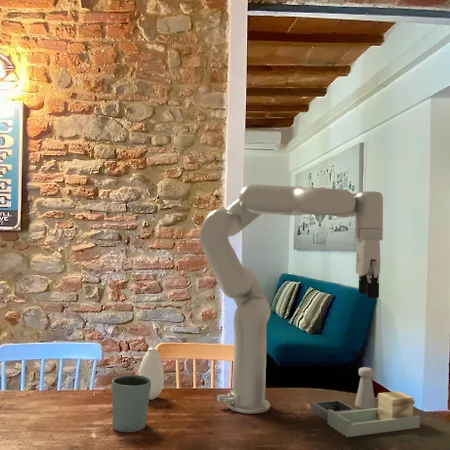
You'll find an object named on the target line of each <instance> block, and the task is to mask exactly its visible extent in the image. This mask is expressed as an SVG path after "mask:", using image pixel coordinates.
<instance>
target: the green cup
mask: <svg viewBox="0 0 450 450" xmlns="http://www.w3.org/2000/svg"><path fill="white" fill-rule="evenodd" d="M111 386H112V387H111V389H112V390H111V392H112V393H111V394H112V396H111V397H112V398H111V399H112V401H111V403H112V405H111V407H112V428H113V429H114V430H116V431H118V432H122V433H133V432H137V431H141V430H143V429H145V428H146V425H147V417H148V411H149V410H148V409H149V401H150V400H149V393H150V387H151V379H150V378H148V377H144V376H139V375H138V374H137V375H136V374H134V375H133V374H127V375H126V374H125V375H119V376H115V377H114V378H112V380H111Z"/></svg>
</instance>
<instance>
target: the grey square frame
mask: <svg viewBox="0 0 450 450" xmlns="http://www.w3.org/2000/svg"><path fill="white" fill-rule="evenodd" d="M330 409H331V410H333V411H335V412H345V411H354V410H357V409H356V407H355V408H354V407H353V406H351V405H350V404H347V403H346V402H345V401H342V400H340V399H332V400H322V401H313V402H310V412H311V413H313V414H315V415H316V416H318V417H319V418H321V419H322V418H323V419H322V420H324V421H325V420H326V421H325V422H327V421H328V410H330ZM335 409H337V410H335ZM339 410H340V411H339Z"/></svg>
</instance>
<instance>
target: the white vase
mask: <svg viewBox="0 0 450 450" xmlns="http://www.w3.org/2000/svg"><path fill="white" fill-rule="evenodd" d="M163 364H164V363H163V361H162V358H161V356H160V354H159V352H158V351H157V348H156V347H154V340H153V339H152V340H151V346H150V347H148V349H147V351H146V353H145V354H144V356H143V358H142V360H141V362H140V366H139V370H138V374H137V375H139V376H144V377H148V378H150V379H151V387H150V393H149V401H150V400H152V401H153V400H154V399H156V398H157V396H159V395H160V393H161V392H162V390H163V387H164V382H165V370H164V365H163Z"/></svg>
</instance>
